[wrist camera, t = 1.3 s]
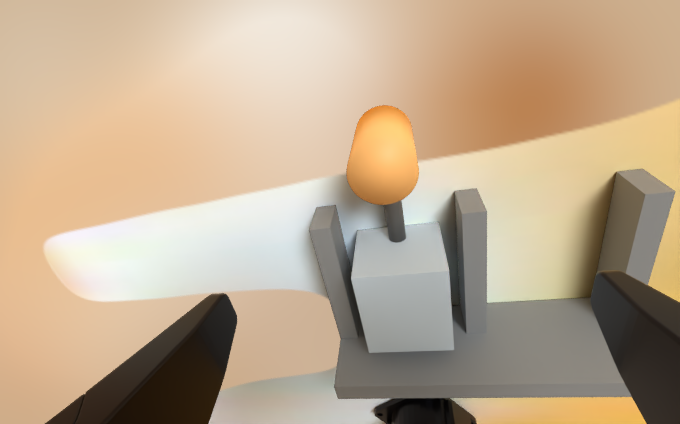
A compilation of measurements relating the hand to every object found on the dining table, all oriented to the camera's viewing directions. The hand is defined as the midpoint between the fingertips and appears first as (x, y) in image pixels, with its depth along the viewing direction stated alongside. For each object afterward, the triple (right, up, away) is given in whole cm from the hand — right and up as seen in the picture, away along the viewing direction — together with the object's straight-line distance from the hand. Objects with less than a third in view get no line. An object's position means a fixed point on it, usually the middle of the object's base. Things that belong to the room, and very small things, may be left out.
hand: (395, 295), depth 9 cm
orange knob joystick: (+2, +2, +13) cm, 13 cm away
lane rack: (+7, -1, +14) cm, 16 cm away
